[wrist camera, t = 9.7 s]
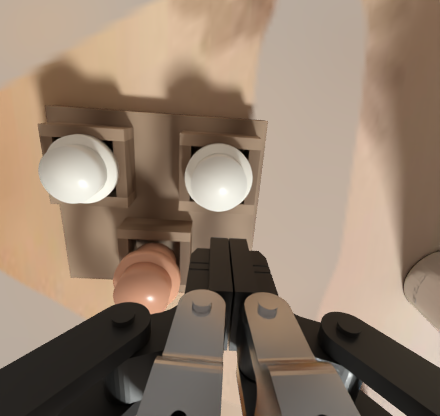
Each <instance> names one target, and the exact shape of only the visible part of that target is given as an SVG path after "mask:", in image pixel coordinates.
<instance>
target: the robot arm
mask: <svg viewBox="0 0 440 416" xmlns="http://www.w3.org/2000/svg"><path fill="white" fill-rule="evenodd" d="M404 293H405V297H406V298H407V300H408V301H409V302H410V303H411V304H412V305H413V306H414V307H415V308H416V309H417V310H418V311H419V312H420V313H421V314H422V315H423V316H424V317H425V318H426V319H427V320H428V321H429V322H430V323H431V325H432V326H433V327H434V328H435V329H436V330H437V331H438V332H439V333H440V251H438V252H435V253H432V254H430V255H428V256H426V257H425V258H423V259H422V260H420V261H419V262H418V263H417V264H416V265H415V266H414V267H413V268H412V269H411V270H410V272H409V273H408V275H407V277H406V279H405V283H404ZM227 344H229V350H230V351H237V368H236V377H237V384H238V390H239V396H240V403H241V409H242V415H243V416H392V415H391V414H390V413H389V412H387V411H386V410H385V409H384V408H382V407H381V406H380V405H379V404H377V403H376V402H375V401H374V400H372V399H371V398H370V397H368V396H367V395H366V394H365V393H363V392H362V391H361V390H360V388H361V385H362V382H364V383H365V384H366V385H368V386H369V387H370V388H372V389H373V390H374V391H375V392H377V393H378V394H379V395H381V396H382V397H383V398H385V399H386V400H387V401H388V402H390V403H391V404H392V405H394V406H395V407H396V408H398V409H399V410H400V411H401V412H403V413H404V414H405V415H407V416H440V368H439V367H437V366H436V365H434V364H432V363H431V362H429V361H427V360H426V359H424V358H422V357H421V356H419V355H418V354H416V353H414V352H413V351H411V350H409V349H408V348H406V347H404V346H403V345H401V344H399V343H398V342H396V341H395V340H393V339H391V338H390V337H388V336H386V335H385V334H383V333H381V332H380V331H378V330H376V329H375V328H373V327H372V326H370V325H368V324H367V323H365V322H363V321H362V320H360V319H358V318H356V317H354V316H352V315H350V314H347V313H342V312H330V313H327V314H325V315H324V316H323V318H322V320H321V323H320V322H317V321H313V320H309V319H306V318H303V317H300V316H298V315H295V314H294V313H293V312H292V310H291V308H290V306H289V304H288V303H287V302H286V301H285V300H284V299H282V298H280V297H279V296H278V293H277V290H276V287H275V284H274V281H273V278H272V275H271V274H270V269H269V267H268V263H267V260H266V258H265V257H264V256H263V255H262V254H261V253H260V252H259V251H249V248H248V243H247V239H240V238H229V240H228V238H220V237H211V238H210V249H208V248H197V249H196V250H195V251H194V252H193V253H192V254H191V257H190V263H189V270H188V275H187V282H186V288H185V294H184V295H183V296H182V297H181V298H180V300H179V302H178V305H177V306H175V307H174V308H172V309H170V310H167V311H164V312H159V313H155V314H150V312H149V310H148V309H147V308H146V307H145V306H144V305H142V304H139V303H135V302H123V303H119V304H116V305H113V306H111V307H109V308H107V309H105V310H103V311H102V312H100V313H98V314H96V315H95V316H93V317H91V318H89V319H88V320H86V321H84V322H82V323H81V324H79V325H77V326H75V327H74V328H72V329H70V330H68V331H67V332H65V333H63V334H61V335H60V336H58V337H56V338H54V339H52V340H51V341H49V342H47V343H45V344H44V345H42V346H40V347H38V348H37V349H35V350H33V351H32V352H30V353H28V354H26V355H25V356H23V357H21V358H19V359H17V360H16V361H14V362H12V363H10V364H9V365H7V366H5V367H3V368H1V369H0V416H220V415H221V397H222V378H223V352H224V350H227Z"/></svg>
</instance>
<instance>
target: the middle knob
mask: <svg viewBox="0 0 440 416" xmlns="http://www.w3.org/2000/svg"><path fill="white" fill-rule="evenodd" d="M180 282H181V274H180V270H179V268H178V266H177V264H176V257H175V254H174V253H173V251H172V250H171V249H170V248H169V247H167V246H166V245H164V244H161V243H156V242H151V243H146V244H144V245H142V246H140V247H139V248H138V249H137V250H136V251H133V252H131V253H129V254H128V255H126V256H125V257H124V258H123V259H122V260H121V262H120V263H119V265H118V267H117V268H116V270H115V273H114V276H113V284H114V288H115V289H114V293H113V298H114V302H115V304H119V303H123V302H135V303H139V304H142V305H144V306H145V307H146V308H147V309H148V310H149V312H150V314H155V313H159V312H164V310H165V309H166V308H167V305H168V304H170V303H171V302H172V301H173V300H174V299H175V298H176V296H177V294H178V292H179V288H180Z"/></svg>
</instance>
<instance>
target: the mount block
mask: <svg viewBox="0 0 440 416" xmlns="http://www.w3.org/2000/svg"><path fill="white" fill-rule="evenodd" d="M45 110H46V117H47V123H41V124H38V130H39V136H40V142H41V148H42V154H43V156H44V154H45V153H46V152H47V150H48V148H49V147H50V145H51V144H52V143H53V142H54V141H56V140H57V139H59V138H61V137H64V136H68V135H73V134H86V135H90V136H93V137H95V138H97V139H99V140H101V141H103V142H106V143H107V144H109V145H110V146H111V147H113V152H114V155H115V157H116V159H117V162H118V165H119V179H118V183H117V185H116V187H115V188H114V190H113V191H112V192H111V193H110V194H108V195H107V196H106V197H105V198H103V199H102V200H100V201H97V202H94V203H77V204H71V203H66V202H62V201H60V200H58V199H56V198H54V197H53V196H52V195H51V194H49V197H50V204H60V210H61V217H62V223H63V230H64V237H65V243H66V250H67V257H68V263H69V270H70V277H71V278H90V279H113V276H114V273H115V270H116V268H117V267H118V265H119V263H120V262H121V260H122V259H123V258H124V257H125V256H126V255H128V254H129V253H131V252H133V251H136V250H137V249H138V248H139V247H140V246H142V245H144V244H146V243H151V242H156V243H161V244H164V245H166V246H167V247H169V248H170V249H171V250H172V251H173V253H174V254H175V257H176V264H177V266H178V268H179V270H180V274H181V282H180V288H179V292H181V293H185V288H186V282H187V275H188V270H189V263H190V257H191V254H192V253H193V252H194V251H195V250H196V249H197V248H208V249H210V238H211V237H220V238H228V240H229V238H240V239H247V243H248V248H249V251H252V244H253V237H254V229H255V220H256V213H257V205H258V197H259V189H260V181H261V173H262V165H263V157H264V148H265V141H266V133H267V124H268V121H263V120H250V119H236V118H221V117H207V116H193V115H179V114H165V113H151V112H137V111H122V110H108V109H94V108H80V107H66V106H45ZM214 143H223V144H228V145H231V146H233V147H235V148H237V149H238V150H239V151H241V152H242V153H243V155H244V156H245V157H246V159H247V160H248V162H249V164H250V166H251V170H252V176H253V179H252V186H251V189H250V191H249V193H248V195H247V196H246V198H245V199H244V200H243V201H242V202H241V203H240V204H238V205H237V206H235V207H234V208H232V209H230V210H227V211H222V212H216V211H211V210H208V209H206V208H204V207H202V206H200V205H199V204H197V203H196V202H195V201H194V200H193V199H192V198H191V196H190V195H189V193H188V191H187V188H186V185H185V171H186V167H187V165H188V162H189V161H190V159H191V157H192V156H193V155H194V154H195V153H196V152H197V151H198V150H199V149H201V148H202V147H204V146H206V145H209V144H214Z"/></svg>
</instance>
